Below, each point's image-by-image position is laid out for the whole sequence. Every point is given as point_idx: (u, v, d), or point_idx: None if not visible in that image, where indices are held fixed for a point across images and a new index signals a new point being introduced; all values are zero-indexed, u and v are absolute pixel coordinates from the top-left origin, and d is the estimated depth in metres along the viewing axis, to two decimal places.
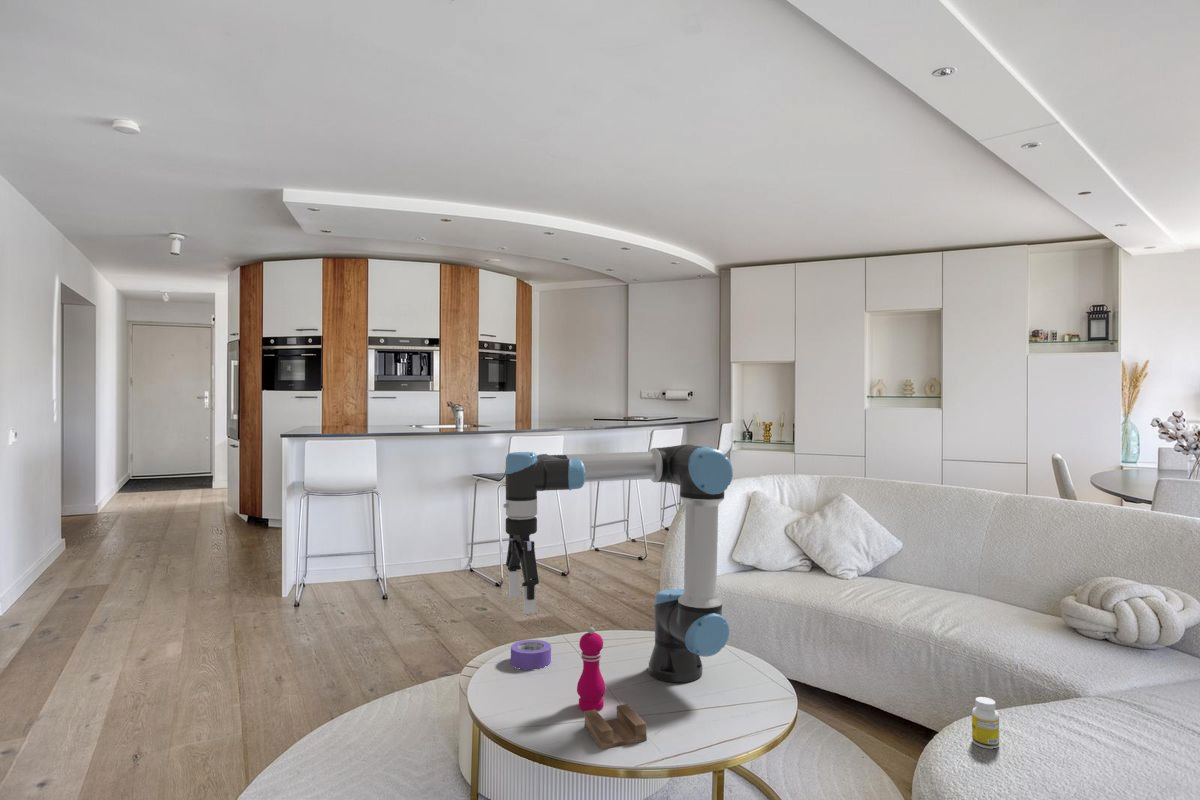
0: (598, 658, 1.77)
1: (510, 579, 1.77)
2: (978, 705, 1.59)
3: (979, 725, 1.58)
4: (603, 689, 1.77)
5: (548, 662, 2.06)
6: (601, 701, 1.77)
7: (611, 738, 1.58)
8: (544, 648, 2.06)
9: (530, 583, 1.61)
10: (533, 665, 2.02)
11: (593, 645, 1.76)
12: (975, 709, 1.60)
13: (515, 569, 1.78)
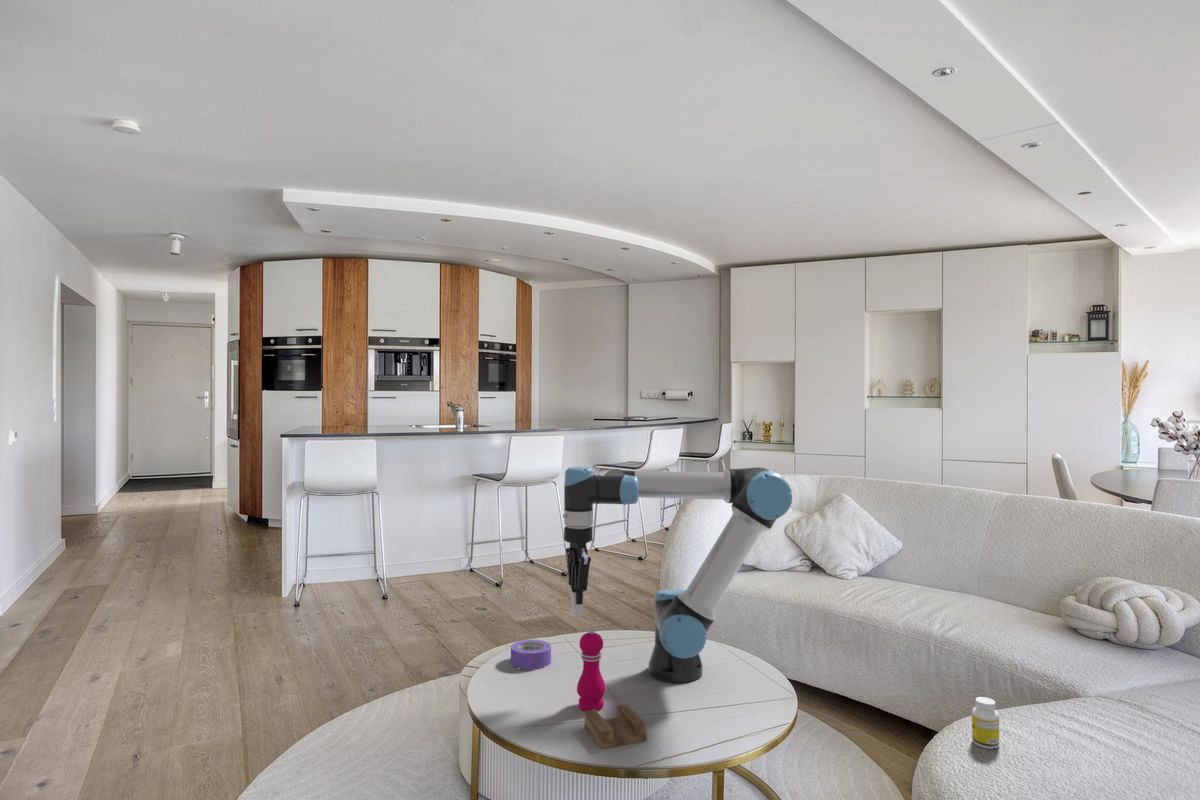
0: (598, 658, 1.77)
1: None
2: (978, 705, 1.59)
3: (979, 725, 1.58)
4: (603, 689, 1.77)
5: (548, 662, 2.06)
6: (601, 701, 1.77)
7: (611, 738, 1.58)
8: (544, 648, 2.06)
9: (580, 590, 1.84)
10: (533, 665, 2.02)
11: (593, 645, 1.76)
12: (975, 709, 1.60)
13: None
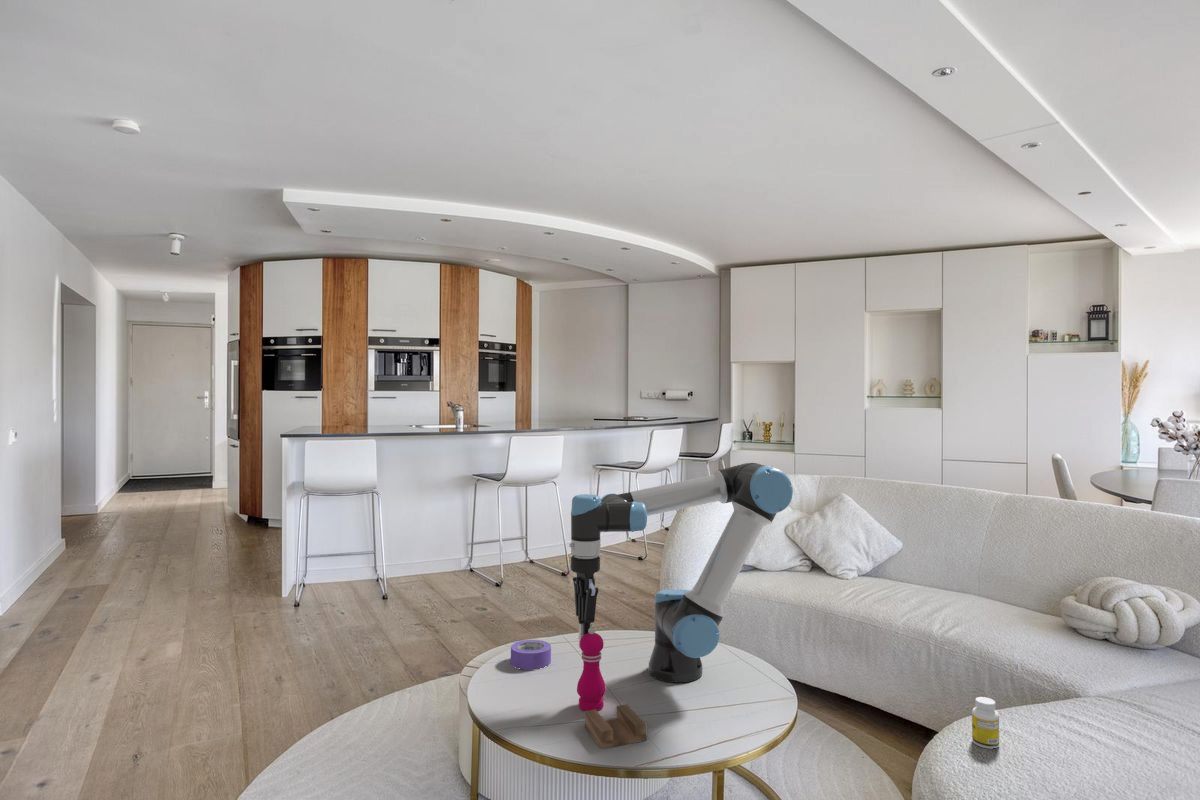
0: (598, 658, 1.77)
1: None
2: (978, 705, 1.59)
3: (979, 725, 1.58)
4: (603, 689, 1.77)
5: (548, 662, 2.06)
6: (601, 701, 1.77)
7: (611, 738, 1.58)
8: (544, 648, 2.06)
9: (587, 622, 1.79)
10: (533, 665, 2.02)
11: (594, 645, 1.75)
12: (975, 709, 1.60)
13: None
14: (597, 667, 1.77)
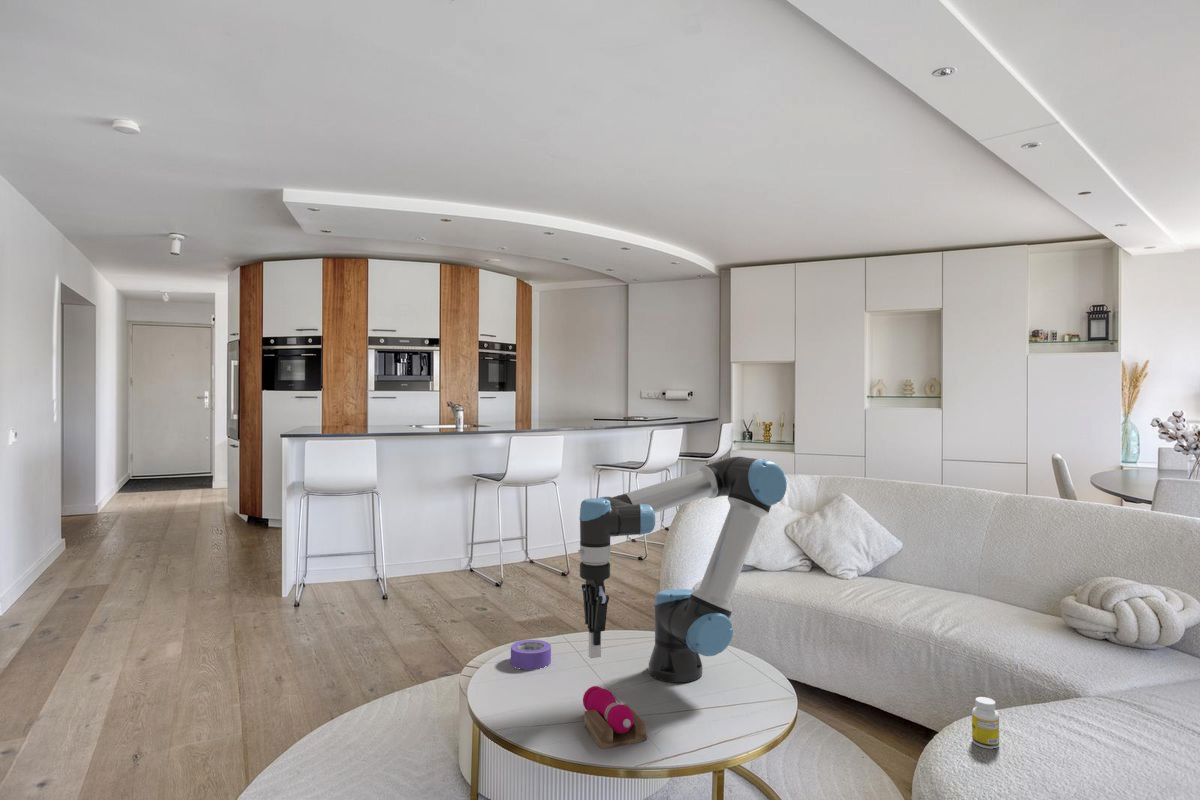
0: None
1: None
2: (978, 705, 1.59)
3: (979, 725, 1.58)
4: None
5: (548, 662, 2.06)
6: None
7: (611, 738, 1.58)
8: (544, 648, 2.06)
9: (597, 631, 1.73)
10: (533, 665, 2.02)
11: None
12: (975, 709, 1.60)
13: None
14: None
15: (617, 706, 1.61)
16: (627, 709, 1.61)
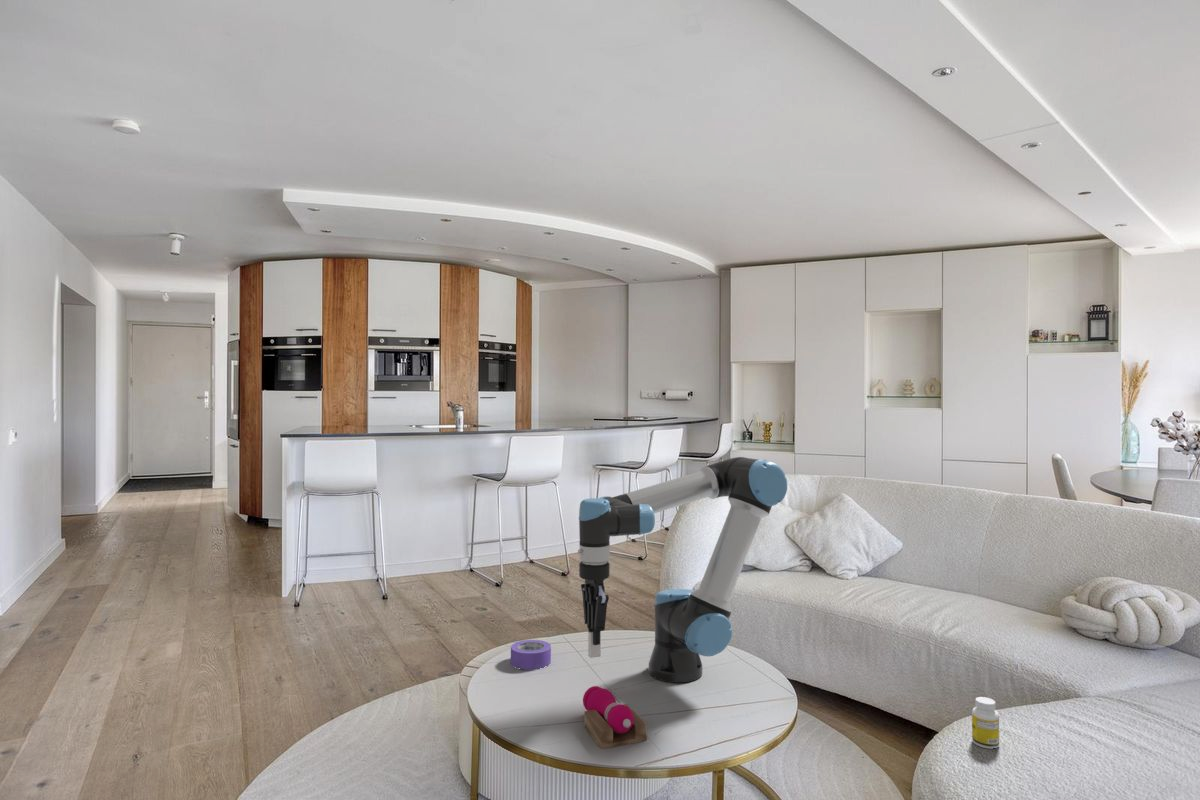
0: None
1: None
2: (978, 705, 1.59)
3: (979, 725, 1.58)
4: None
5: (548, 662, 2.06)
6: None
7: (611, 738, 1.58)
8: (544, 648, 2.06)
9: (597, 630, 1.73)
10: (533, 665, 2.02)
11: None
12: (975, 709, 1.60)
13: None
14: None
15: (617, 706, 1.61)
16: (627, 709, 1.61)
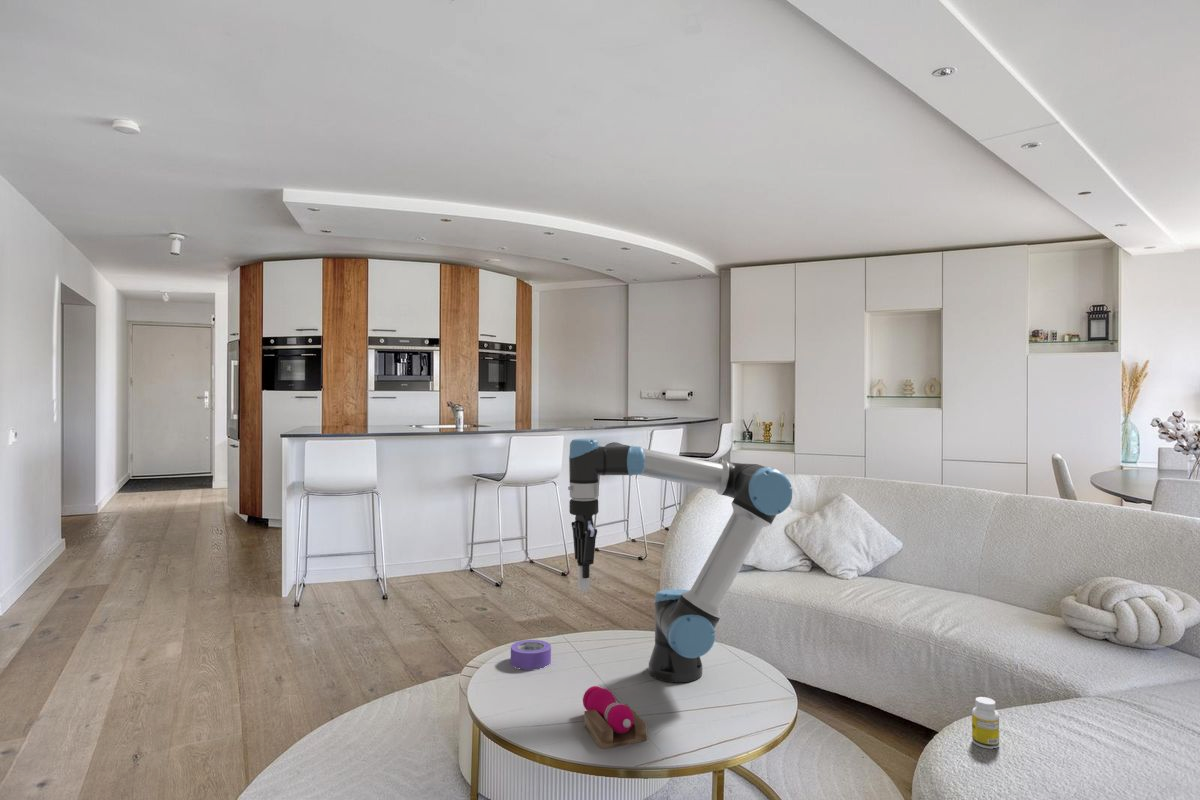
0: None
1: None
2: (978, 705, 1.59)
3: (979, 725, 1.58)
4: None
5: (548, 662, 2.06)
6: None
7: (611, 738, 1.58)
8: (544, 648, 2.06)
9: (586, 563, 1.81)
10: (533, 665, 2.02)
11: None
12: (975, 709, 1.60)
13: None
14: None
15: (617, 706, 1.61)
16: (627, 709, 1.61)
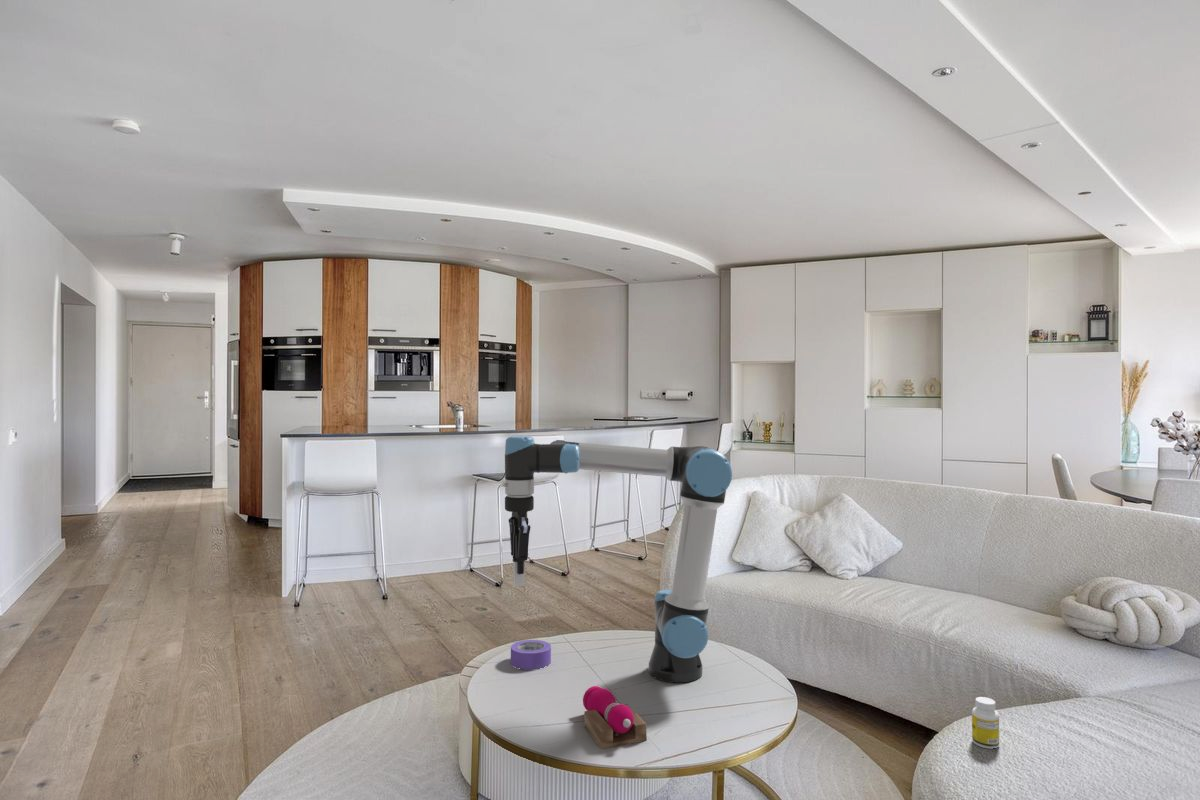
0: None
1: None
2: (978, 705, 1.59)
3: (979, 725, 1.58)
4: None
5: (548, 662, 2.06)
6: None
7: (611, 738, 1.58)
8: (544, 648, 2.06)
9: (520, 559, 1.83)
10: (533, 665, 2.02)
11: None
12: (975, 709, 1.60)
13: None
14: None
15: (617, 706, 1.61)
16: (627, 709, 1.61)
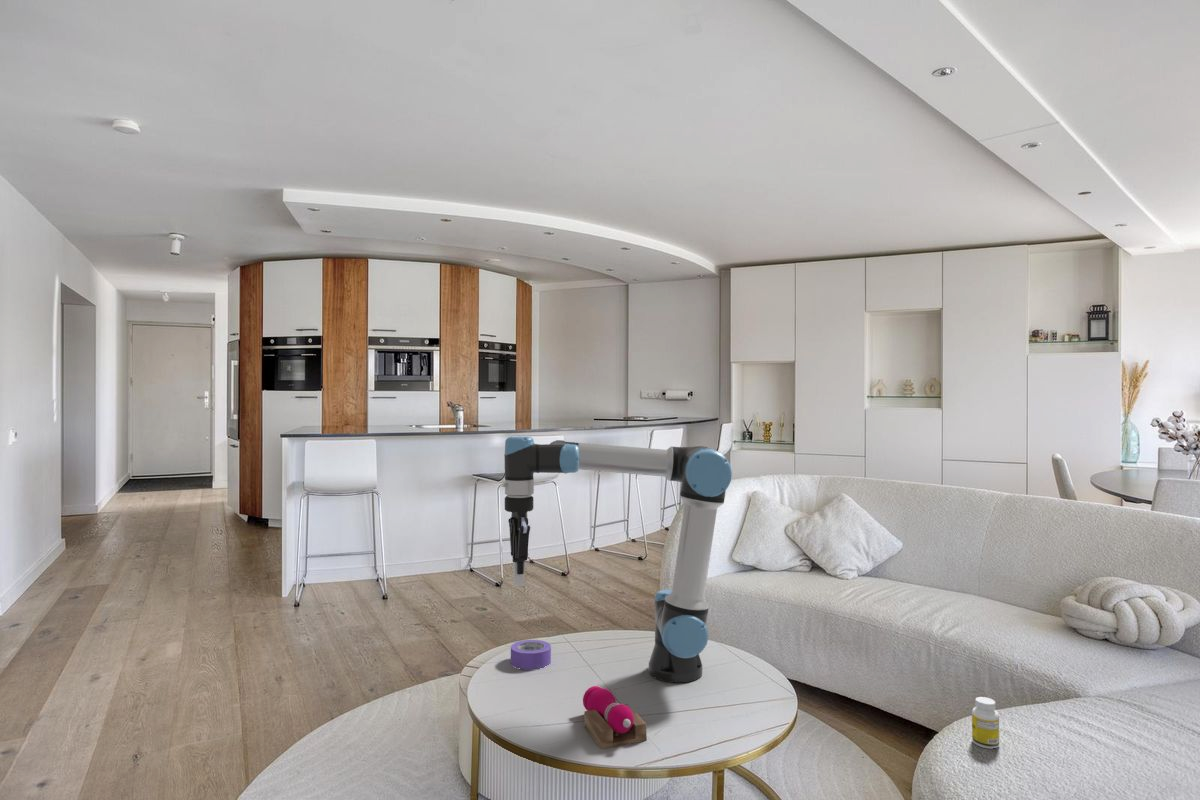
0: None
1: None
2: (978, 705, 1.59)
3: (979, 725, 1.58)
4: None
5: (548, 662, 2.06)
6: None
7: (611, 738, 1.58)
8: (544, 648, 2.06)
9: (520, 559, 1.83)
10: (533, 665, 2.02)
11: None
12: (975, 709, 1.60)
13: None
14: None
15: (617, 706, 1.61)
16: (627, 709, 1.61)
